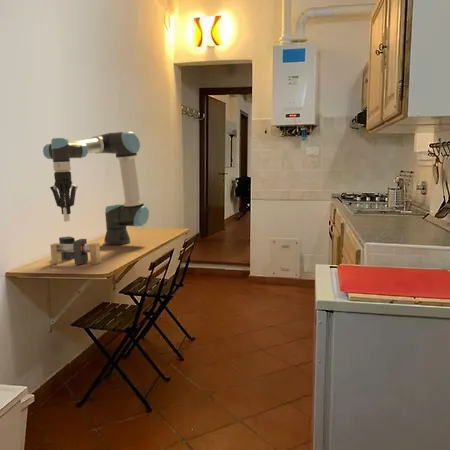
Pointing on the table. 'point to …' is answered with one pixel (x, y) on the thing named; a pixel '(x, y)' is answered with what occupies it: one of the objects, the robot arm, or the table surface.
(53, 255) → the pipe
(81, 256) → the collar
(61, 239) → the box
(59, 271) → the table surface
